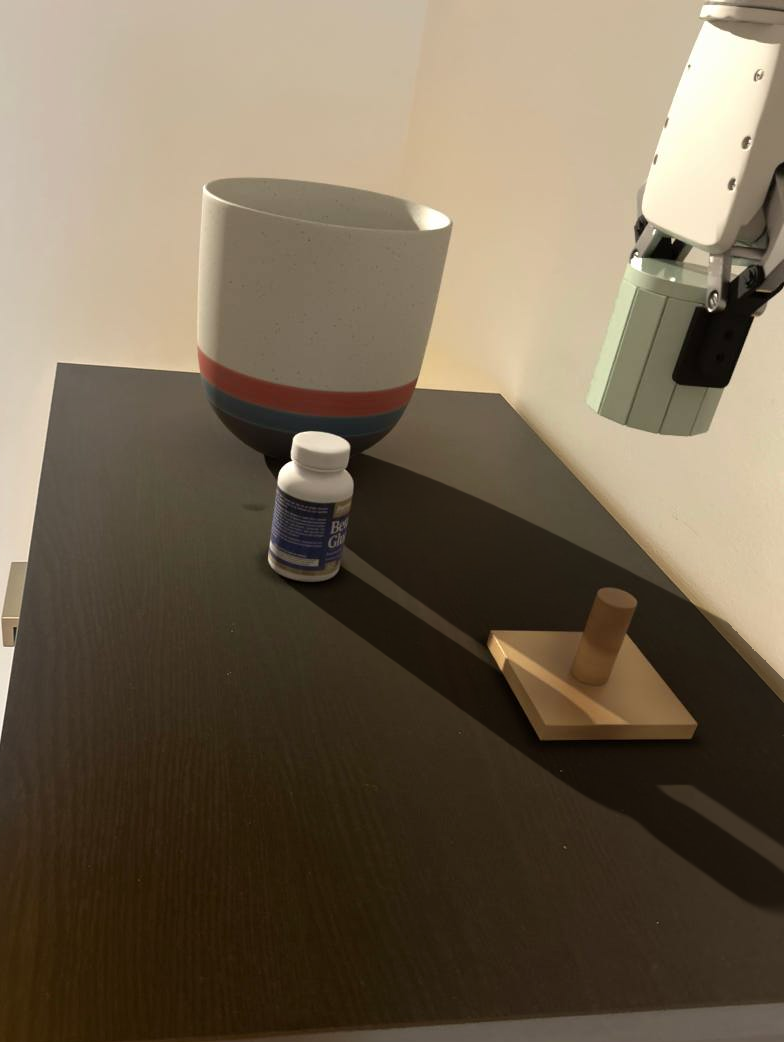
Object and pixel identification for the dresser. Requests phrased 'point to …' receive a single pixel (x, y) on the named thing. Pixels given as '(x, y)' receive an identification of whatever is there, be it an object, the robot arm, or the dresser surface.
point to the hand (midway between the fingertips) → (665, 359)
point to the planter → (314, 308)
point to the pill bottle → (311, 508)
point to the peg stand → (590, 679)
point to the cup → (652, 351)
